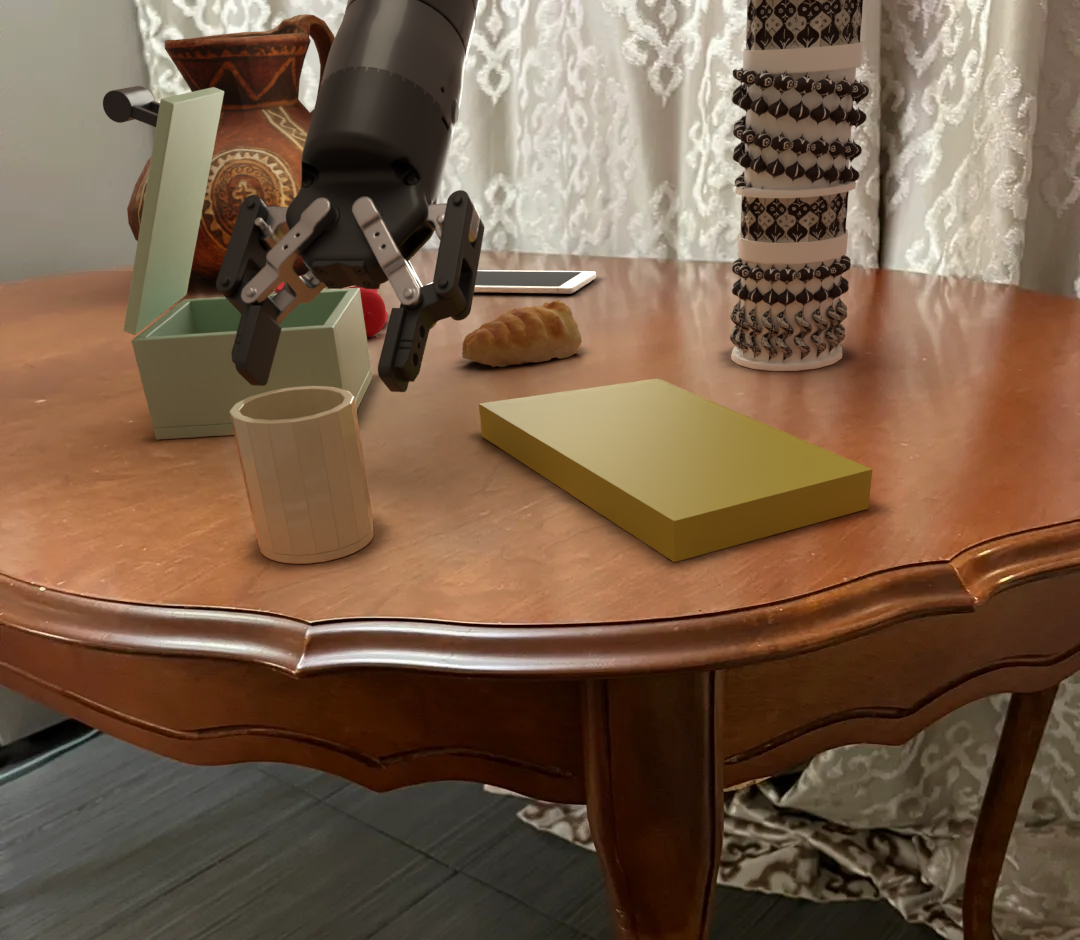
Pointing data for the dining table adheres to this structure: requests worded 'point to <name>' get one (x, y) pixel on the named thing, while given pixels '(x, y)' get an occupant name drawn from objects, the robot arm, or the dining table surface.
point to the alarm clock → (367, 309)
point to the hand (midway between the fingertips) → (319, 381)
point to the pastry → (525, 336)
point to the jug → (247, 125)
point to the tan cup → (304, 473)
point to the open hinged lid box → (210, 375)
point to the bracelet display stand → (795, 180)
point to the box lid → (168, 193)
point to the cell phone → (532, 281)
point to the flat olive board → (676, 464)
